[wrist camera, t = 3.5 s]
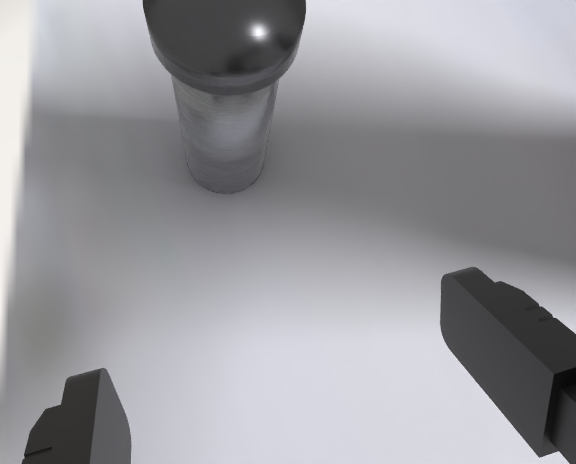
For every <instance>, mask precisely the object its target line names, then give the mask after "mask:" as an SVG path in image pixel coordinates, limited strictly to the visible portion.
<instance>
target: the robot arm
mask: <svg viewBox="0 0 576 464" xmlns="http://www.w3.org/2000/svg"><path fill="white" fill-rule="evenodd" d="M440 326H441V332H442V335H443V338H444V340H445V343H446V344H447V346H448V348H449V349H450V350H451V352H452V353H453V354H454V355H455V356H456V358H457V359H458V360H459V361H460V362H461V364H462V365H463V366H464V367H465V369H466V370H467V371H468V372H469V373H470V375H471V376H472V377H473V378H474V379H475V381H476V382H477V383H478V384H479V385H480V387H481V388H482V389H483V390H484V391H485V393H486V394H487V395H488V396H489V398H490V399H491V400H492V401H493V402H494V404H495V405H496V406H497V407H498V408H499V410H500V411H501V412H502V413H503V414H504V416H505V417H506V418H507V419H508V420H509V422H510V423H511V424H512V425H513V426H514V428H515V429H516V430H517V431H518V433H519V434H520V435H521V436H522V437H523V439H524V440H525V441H526V442H527V443H528V445H529V446H530V447H531V448H532V449H533V451H534V452H535V453H536V454H537V455H538V457H539V458H540V457H543V456H546V455H549V454H552V453H554V452H557V451H559V452H560V453H561V454H562V455H563V456H564V457H565V458H566V460H567V461H568V462H569V463H570V464H576V334H575V333H574V332H573V331H571V330H570V329H569V328H568V327H566V326H565V325H564V324H563V323H562V322H560V321H559V320H558V319H557V318H553V317H552V314H551V313H549V312H548V311H547V310H546V309H544V308H543V307H540V306H539V304H538V303H537V302H536V301H535V300H533V299H532V298H531V297H530V296H528V295H527V294H526V293H525V292H524V291H522V290H520V289H518V288H515V287H513V286H511V285H508V284H506V283H504V282H502V281H499V282H496V283H494V282H493V281H492V280H491V279H490V278H489V277H488V276H486V275H485V274H484V273H483V272H482V271H481V270H479V269H478V268H476V267H470V268H467V269H463V270H459V271H456V272H452V273H448V274H445V275H444V276H443V277H442V280H441V314H440ZM24 456H25V459H23V461H22V464H131V435H130V428H129V424H128V420H127V417H126V414H125V412H124V409H123V407H122V404H121V402H120V400H119V397H118V395H117V392H116V390H115V388H114V385H113V383H112V381H111V378H110V376H109V374H108V372H107V370H106V369H105V368H101V369H97V370H94V371H90V372H86V373H83V374H79V375H75V376H71V377H69V378H67V380H66V383H65V388H64V393H63V398H62V403H61V405H58V406H55V407H51V408H47V409H45V411H44V412H43V414H42V415H41V417H40V418H39V419H38V421H37V422H36V424H35V425H34V427H33V428H32V430H31V431H30V434H29V438H28V442H27V445H26V449H25V453H24Z"/></svg>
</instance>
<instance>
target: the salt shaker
mask: <svg viewBox="0 0 576 464" xmlns="http://www.w3.org/2000/svg"><path fill="white" fill-rule="evenodd" d="M143 8H144V13H145V17H146V22H147V26H148V30H149V35H150V39H151V43H152V46H153V49H154V51H155V54H156V55H157V57H158V59H159V61H160V62H161V63H162V65H163V66H164V67H165V68H166V69H167V70H168V71H169V72H170V73H171V76H172V81H173V87H174V92H175V97H176V103H177V108H178V114H179V119H180V124H181V130H182V135H183V141H184V146H185V152H186V157H187V162H188V167H189V170H190V172H191V174H192V176H193V177H194V178H195V180H196V181H197V182H198V183H199V184H201V185H202V186H203V187H205V188H207V189H209V190H211V191H214V192H217V193H235V192H239V191H242V190H244V189H246V188H247V187H249V186H250V185H252V184H253V183H254V182H255V181H256V179H257V178H258V177H259V175H260V173H261V171H262V168H263V163H264V158H265V152H266V147H267V141H268V136H269V131H270V125H271V120H272V114H273V109H274V103H275V98H276V92H277V87H278V82H279V78H280V77H281V76H282V75H283V74H284V73H285V72H286V71H287V70H288V69H289V67H290V66H291V64H292V63H293V61H294V58H295V56H296V54H297V50H298V47H299V43H300V38H301V34H302V29H303V25H304V21H305V14H306V1H305V0H143Z"/></svg>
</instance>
